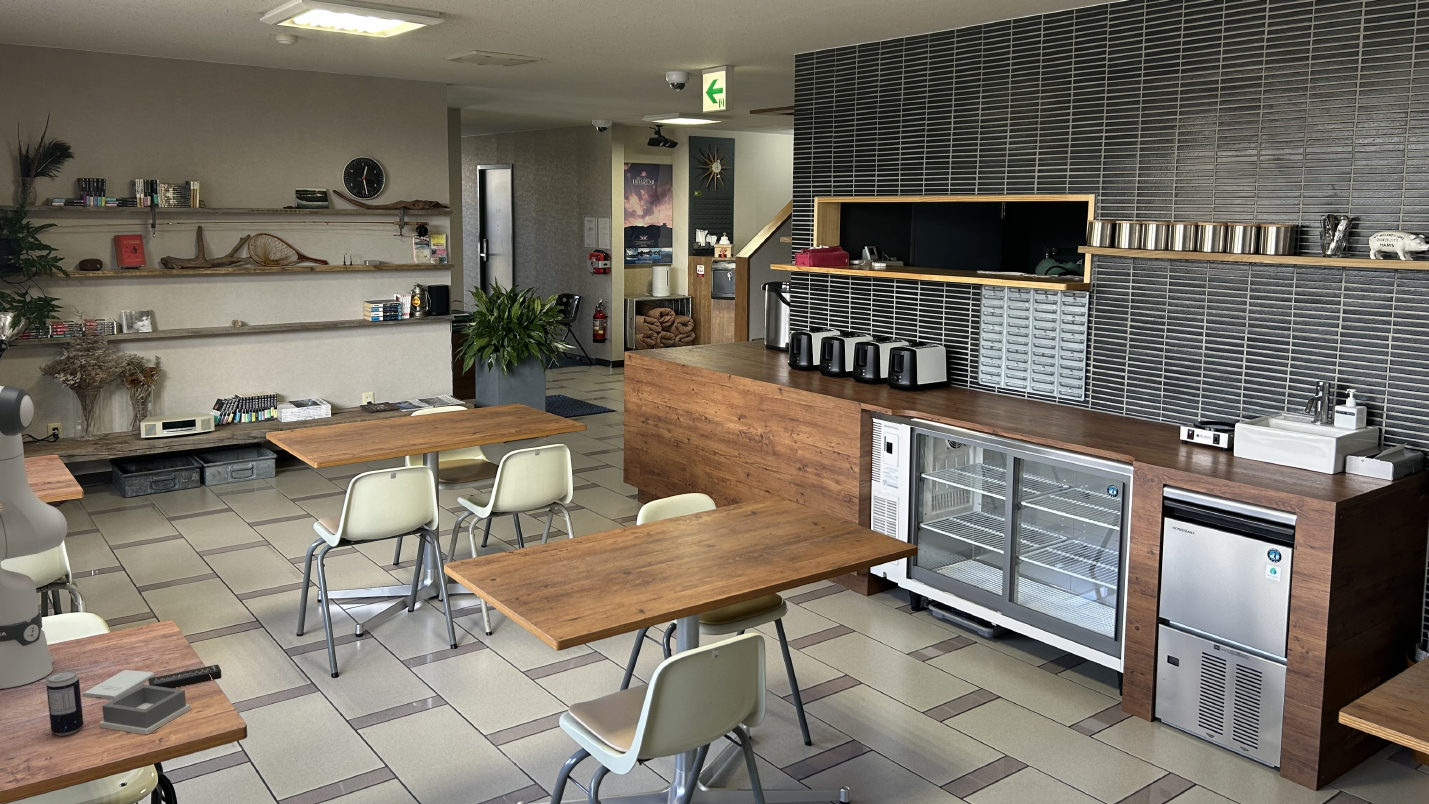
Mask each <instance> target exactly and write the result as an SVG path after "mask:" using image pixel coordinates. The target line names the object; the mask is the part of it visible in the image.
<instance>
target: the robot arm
mask: <svg viewBox="0 0 1429 804" xmlns="http://www.w3.org/2000/svg"><path fill="white" fill-rule="evenodd" d="M34 412H35V408H34V402H33V398H32V396H31V395H30V394H29V392H27V390H26V389H25V388H22V387H19V386H13V385H5V386H3V385H0V505H1V509H0V689H8V688H9V689H10V688H14V687H20V686H23V685H27V684H31V683H34V682H36V681H38V680H40V679H43V678H45V677H47V676H48V675H50V674H51V673H52V672H53V669H54V667H53V663H54V661H55V660H54V656H52V655H51V654H50V649H49V647H48V641H47V638H46V633H45V631H44V630H43V629H42V628H43V616H42V613H41V612H40V611H39V605H38V597H37V596H38V594H37V585H36V582H35V581H34V579H32V577H30V576H28V575H27V574H24V573H21V572H17V571H12V570H8V569H4V568H2V565H1V563H2V562H3V561H5V560H10V559H11V560H12V559H16V558H21V557H27V556H32V555H38V554H41V553H44V552H47V551H49V550H52V549H55V548H57V547H60V546H61V545H62V544H63V542H64V540H65V539H66V537H67V533H68V522H67V519H66V517H65V516H64V514H63V513H62V512H61V510H59V509H58V508H57V507H55V506H53V505H50V504H48V503H47V502H45V501H44V500H42V499H40V498H39V497H38V495H36V494H35V492H34V491H33V489H32V488H31V486H30V483H29V480H28V474H27V472H26V471H27V470H26V464H25V454H24V452H25V451H24V443H23V442H24V441H23V437H22V436H23V435H22V433H24V432H25V431H26V430H27V429H29V427H30V426H31V424H32V421H33V418H34Z"/></svg>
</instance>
